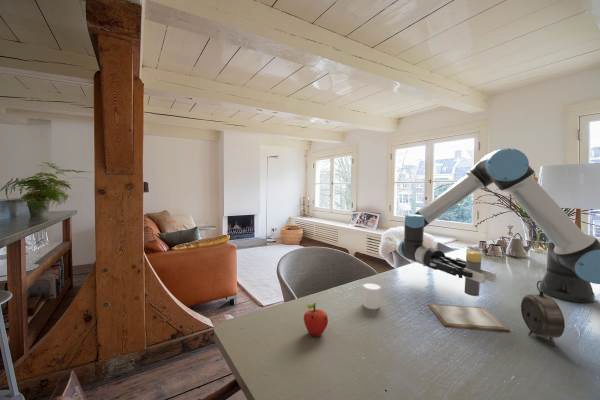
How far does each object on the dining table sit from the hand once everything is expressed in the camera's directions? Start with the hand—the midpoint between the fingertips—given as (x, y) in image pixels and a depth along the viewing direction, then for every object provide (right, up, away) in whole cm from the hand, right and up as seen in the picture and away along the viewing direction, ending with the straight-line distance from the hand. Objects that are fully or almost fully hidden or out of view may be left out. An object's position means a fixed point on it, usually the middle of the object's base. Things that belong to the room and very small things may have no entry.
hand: (489, 278), depth 80 cm
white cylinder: (-33, -13, +12) cm, 38 cm away
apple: (-54, -14, -6) cm, 56 cm away
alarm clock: (+9, -15, -7) cm, 19 cm away
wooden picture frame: (-5, -14, +4) cm, 15 cm away
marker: (-2, -7, +6) cm, 9 cm away
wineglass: (+28, -12, +49) cm, 58 cm away
